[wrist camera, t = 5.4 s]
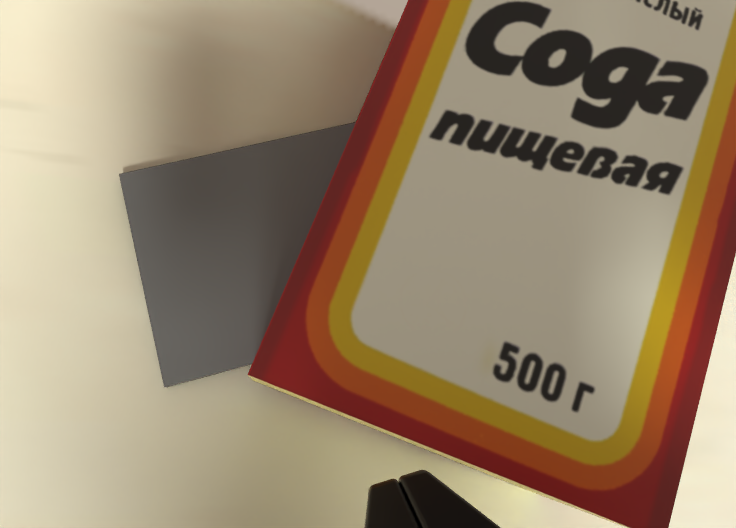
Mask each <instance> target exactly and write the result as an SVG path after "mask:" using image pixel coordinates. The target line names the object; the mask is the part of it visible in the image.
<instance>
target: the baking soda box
mask: <svg viewBox="0 0 736 528" xmlns="http://www.w3.org/2000/svg"><path fill="white" fill-rule="evenodd" d="M735 254H736V0H408V2H407V5H406V7H405V9H404V12H403V14H402V16H401V19H400V21H399V23H398V26H397V28H396V30H395V33H394V35H393V37H392V39H391V42H390V44H389V46H388V49H387V51H386V53H385V56H384V58H383V60H382V63H381V65H380V67H379V70H378V72H377V74H376V77H375V79H374V81H373V84H372V86H371V88H370V91H369V93H368V95H367V98H366V100H365V102H364V105H363V107H362V109H361V112H360V114H359V116H358V119H357V121H356V123H355V126H354V128H353V130H352V133H351V135H350V137H349V140H348V142H347V144H346V147H345V149H344V151H343V154H342V156H341V158H340V161H339V163H338V165H337V168H336V170H335V172H334V175H333V177H332V179H331V182H330V184H329V186H328V189H327V191H326V193H325V196H324V198H323V200H322V203H321V205H320V207H319V210H318V212H317V214H316V217H315V219H314V221H313V224H312V226H311V228H310V231H309V233H308V235H307V237H306V240H305V242H304V244H303V247H302V249H301V251H300V254H299V256H298V258H297V261H296V263H295V265H294V268H293V270H292V272H291V275H290V277H289V279H288V282H287V284H286V286H285V289H284V291H283V293H282V296H281V298H280V300H279V303H278V305H277V307H276V310H275V312H274V314H273V317H272V319H271V321H270V324H269V326H268V328H267V331H266V333H265V335H264V338H263V340H262V342H261V345H260V347H259V349H258V352H257V354H256V356H255V359H254V361H253V363H252V366H251V368H250V370H249V373H248V376H249V377H250V378H251V379H252V380H253V381H256V382H258V383H261V384H263V385H266V386H268V387H271V388H273V389H276V390H278V391H281V392H283V393H286V394H288V395H291V396H293V397H296V398H298V399H301V400H303V401H306V402H308V403H311V404H313V405H316V406H318V407H321V408H323V409H326V410H328V411H331V412H333V413H336V414H338V415H341V416H343V417H346V418H348V419H351V420H353V421H356V422H358V423H361V424H363V425H366V426H368V427H371V428H373V429H376V430H378V431H381V432H383V433H386V434H388V435H391V436H393V437H396V438H398V439H401V440H403V441H406V442H408V443H411V444H413V445H416V446H418V447H421V448H423V449H426V450H428V451H431V452H433V453H436V454H438V455H441V456H443V457H446V458H448V459H451V460H454V461H456V462H459V463H461V464H464V465H466V466H469V467H471V468H474V469H476V470H479V471H481V472H484V473H486V474H489V475H491V476H494V477H496V478H499V479H501V480H504V481H506V482H509V483H511V484H514V485H516V486H519V487H521V488H524V489H526V490H529V491H531V492H534V493H536V494H539V495H541V496H544V497H547V498H549V499H552V500H555V501H557V502H560V503H563V504H565V505H568V506H571V507H574V508H576V509H579V510H582V511H584V512H587V513H590V514H592V515H595V516H598V517H600V518H603V519H606V520H608V521H611V522H614V523H616V524H619V525H622V526H624V527H627V528H668V527H669V523H670V518H671V514H672V510H673V506H674V502H675V498H676V494H677V490H678V486H679V482H680V478H681V474H682V470H683V465H684V461H685V457H686V453H687V449H688V445H689V441H690V437H691V433H692V429H693V425H694V421H695V417H696V412H697V408H698V404H699V400H700V396H701V392H702V388H703V384H704V380H705V376H706V372H707V368H708V364H709V359H710V355H711V351H712V347H713V343H714V339H715V335H716V331H717V327H718V323H719V319H720V315H721V311H722V306H723V302H724V298H725V294H726V290H727V286H728V282H729V278H730V274H731V270H732V266H733V262H734V258H735Z"/></svg>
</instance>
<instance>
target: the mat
mask: <svg viewBox="0 0 736 528" xmlns="http://www.w3.org/2000/svg"><path fill="white" fill-rule="evenodd" d="M355 123H356V122H354V123H350V124H345V125H341V126H336V127H332V128H327V129H323V130H318V131H313V132H309V133H304V134H300V135H295V136H291V137H286V138H282V139H277V140H272V141H268V142H263V143H259V144H254V145H250V146H245V147H241V148H236V149H231V150H227V151H222V152H218V153H213V154H209V155H204V156H200V157H195V158H190V159H186V160H181V161H177V162H172V163H168V164H163V165H158V166H154V167H149V168H145V169H140V170H136V171H131V172H127V173H122V174H119V176H120V181H121V186H122V190H123V195H124V200H125V204H126V209H127V214H128V219H129V223H130V228H131V233H132V237H133V242H134V247H135V251H136V256H137V261H138V266H139V270H140V275H141V280H142V284H143V289H144V294H145V299H146V303H147V308H148V313H149V317H150V322H151V327H152V331H153V336H154V341H155V346H156V350H157V355H158V360H159V364H160V369H161V374H162V379H163V383H164V387H170V386H173V385H177V384H181V383H184V382H188V381H192V380H195V379H199V378H203V377H206V376H210V375H214V374H217V373H221V372H225V371H228V370H232V369H236V368H239V367H243V366H247V365H250V364H252V363H253V361H254V359H255V356H256V354H257V352H258V349H259V347H260V345H261V342H262V340H263V338H264V335H265V333H266V331H267V328H268V326H269V324H270V321H271V319H272V317H273V314H274V312H275V310H276V307H277V305H278V303H279V300H280V298H281V296H282V293H283V291H284V289H285V286H286V284H287V282H288V279H289V277H290V275H291V272H292V270H293V268H294V265H295V263H296V261H297V258H298V256H299V254H300V251H301V249H302V247H303V244H304V242H305V240H306V237H307V235H308V233H309V231H310V228H311V226H312V224H313V221H314V219H315V217H316V214H317V212H318V210H319V207H320V205H321V203H322V200H323V198H324V196H325V193H326V191H327V189H328V186H329V184H330V182H331V179H332V177H333V175H334V172H335V170H336V168H337V165H338V163H339V161H340V158H341V156H342V154H343V151H344V149H345V147H346V144H347V142H348V140H349V137H350V135H351V133H352V130H353V128H354V126H355Z"/></svg>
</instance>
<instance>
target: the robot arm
mask: <svg viewBox="0 0 736 528" xmlns="http://www.w3.org/2000/svg"><path fill="white" fill-rule="evenodd" d="M365 528H500V527H499V526H498V525H496V524H495V523H494V522H493V521H491V520H490V519H489V518H487V517H486V516H485V515H484V514H482V513H481V512H480V511H478V510H477V509H476V508H474V507H473V506H472V505H471V504H469V503H468V502H467V501H465V500H464V499H463V498H462V497H460V496H459V495H458V494H456V493H455V492H454V491H453V490H451V489H450V488H449V487H447V486H446V485H445V484H444V483H442V482H441V481H440V480H438V479H437V478H436V477H434V476H433V475H432V474H431V473H429V472H428V471H426V470H419V471H416V472H413V473H410V474H407V475H403V476H401V477H400V478H399V481H397V480H396V479H390V480H387V481H384V482H380V483H377V484H374V485H372V486H371V487H370V488H369V492H368V501H367V510H366V519H365Z"/></svg>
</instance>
